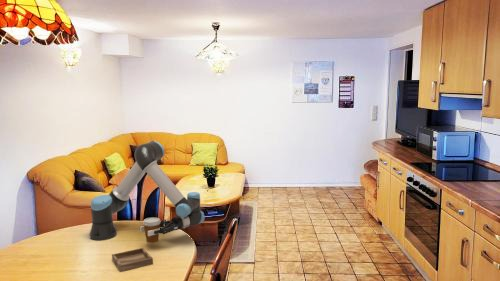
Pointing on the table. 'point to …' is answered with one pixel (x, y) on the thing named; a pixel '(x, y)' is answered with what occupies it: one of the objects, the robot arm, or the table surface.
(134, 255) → the walnut tray
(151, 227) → the disposable coffee cup
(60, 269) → the table surface
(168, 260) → the table surface
